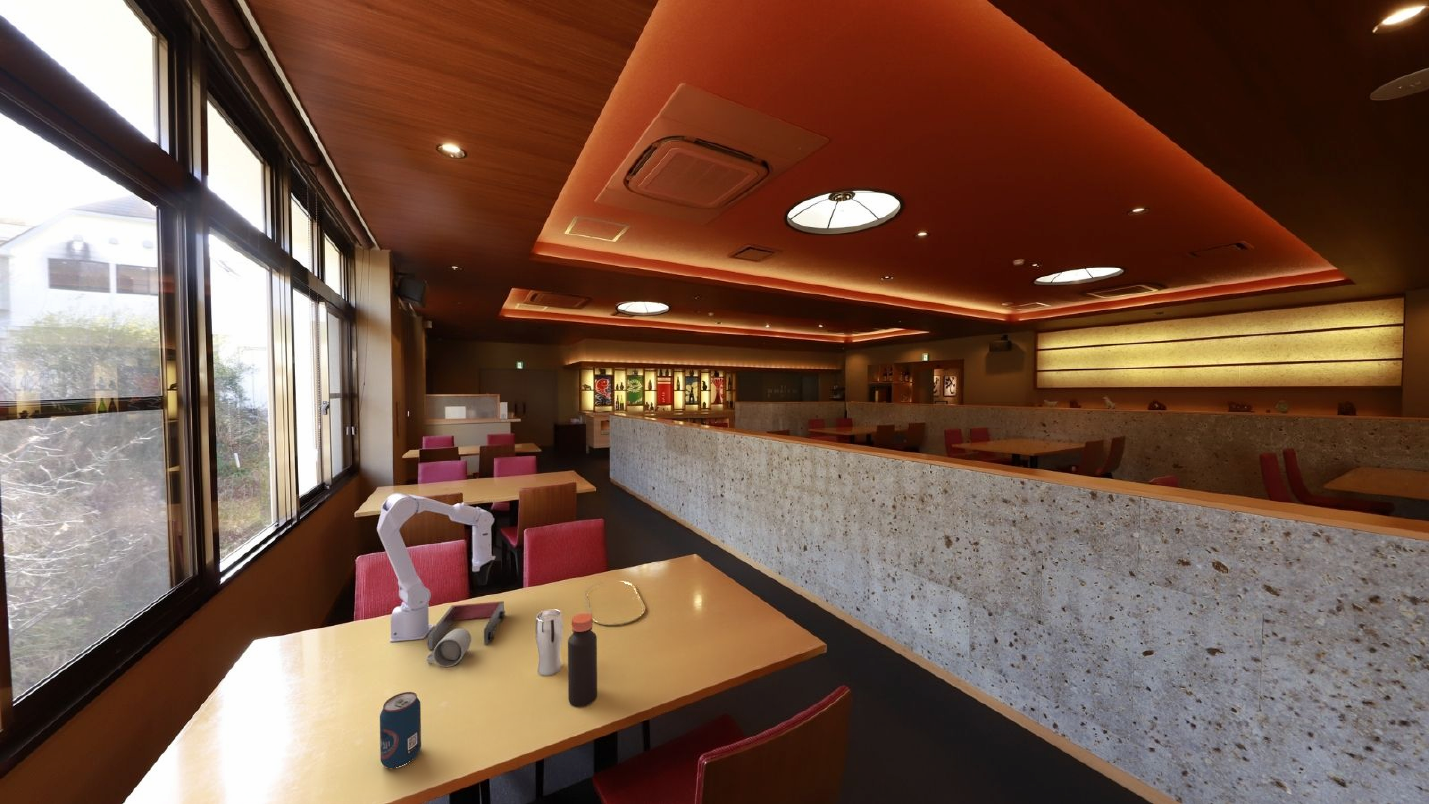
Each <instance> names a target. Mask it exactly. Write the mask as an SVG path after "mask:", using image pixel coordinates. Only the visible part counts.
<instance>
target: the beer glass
mask: <svg viewBox="0 0 1429 804" xmlns="http://www.w3.org/2000/svg"><path fill="white" fill-rule="evenodd" d="M563 628H564V625H563V615H562V611H561V610H559V609H556V608H552V609H549V608H548V609H545V610H542V611H540V612H538V613H537V614H536V616H535V635H534V636H535V643H536V646H537V647H536V648H537V652H538V664H537V665H538V666H537V674H538V675H540V676H542V677H549V676H553V675H556V674H557V673H559V672H560V670H561V669H562V661H561V653H560V652H561V645H562V640H563V630H564V629H563Z"/></svg>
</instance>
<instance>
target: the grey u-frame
mask: <svg viewBox="0 0 1429 804" xmlns="http://www.w3.org/2000/svg"><path fill="white" fill-rule="evenodd" d="M505 616H506V610H505V602H504V600H503V601H502V600H501V601H490V602H479V603H478V602H475V603H465V604H464V603H463V604H453V605H451V606H449V608H448V610H446V612H445V613H444V614H443V616H442V617H441V618H440V619H439V621H438V622H437V623H436V624H435V625H434V627H433V628H432V629H431V631H430V632H429V633H428V634H427V636H428V639H427V643H426V644H427V646H428V650H430V651H431V650H434V649H435V647H436V645H437V644H438V643H439V642H440V641H441V640H442V639H441V638H442V637H443V636H445V633H446V632H447V630H448V629H449V628H450V627H451V626H452V624H453V623H454V622H455V621H456V620H457V621H458V620H460V621H461V620H471V619H479V618H480V619H481V618H489V620H488V622H487V624H486V625H485V627H484V629H483V644H484V645H488V644H489V643H490V641H492V640H494V638H495V631H496V630H497V627H498V626H499V624H500V623H501V621H502V620H504V619H505V618H506V617H505Z"/></svg>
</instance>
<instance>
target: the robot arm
mask: <svg viewBox="0 0 1429 804" xmlns="http://www.w3.org/2000/svg"><path fill="white" fill-rule="evenodd" d="M380 507H381V508H380V510H381V511H380V515H379V519H378V523H377V527H376V532H377V534H378V536H379V539H380V541H381V543H382V545H383V546H382V547H384V550H385V552H386V555H387V557H388V559H389V562H390V564H391V566H392V567H391V568H392V569H393V572H394V574H395V576H396V578H397V580H398V581H397V585H398V587H399V590H398V597H399V598H400V599H401V600H402V602H401V604H400V606H396V607H394V608H393V610H392V613H391V616H390V639H389V643H390V642H391V643H393V642H402V641H414V640H423V639H425V638H426V637H427V636H428V634H429V633H430V632H431V631H432V629H433V628H434V627H435V624H429V623H430V618H429V616H430V615H429V612H430V611H429V601H430V600H431V596H432V593H431V590H430V589H429V588H428V587H425V585H424V583H423V581H422V580H421V578H420V577H419V575H418V573H417V571H416V569H415V566H414V563H413V561H412V559H411V556H410V553H409V551H408V549H407V546H406V545H405V541H404V540H403V537H402V535H401V532H400V529H401V528H402V526H403V525H404V524H405V523H406V521H408V520H409V519H410V518H411V517H412V516H414V514H415V513H416V514H420V513H422V512H424V511H429V512H433V513H438V514H441V515H444V516H445V515H446V516H448V518H449V519H450V521H452V522H456V523H460V524H464V525H468V526H472V559H471V562H472V566H471V569H472V571H471V572H474V574H475V576H476V579H477V584H478V585H479V586H486V585H487V583H488V579H489V574H490V569H491V566H492V565H493V563H494V560H495V559H496V555H493V554H492V526H493V524H494V523H495V517H494V516H493V514H492V513H491V512H490V511H487V510H485V509H482V508H481V507H478V506H476V507H474V506H471V505H468V503H466V502H461V503H459V502H458V503H456V504H454V505H453V504H452V505H451V504H448V503H444V502H441V501H438V500H434V499H431V498H429V497H425V496H419V495H414V494H404V493H403V492H394V493H392V494H390V495H389V496H388V497H386V499H385V500H384V502H383V503H382V504H381V505H380Z"/></svg>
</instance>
